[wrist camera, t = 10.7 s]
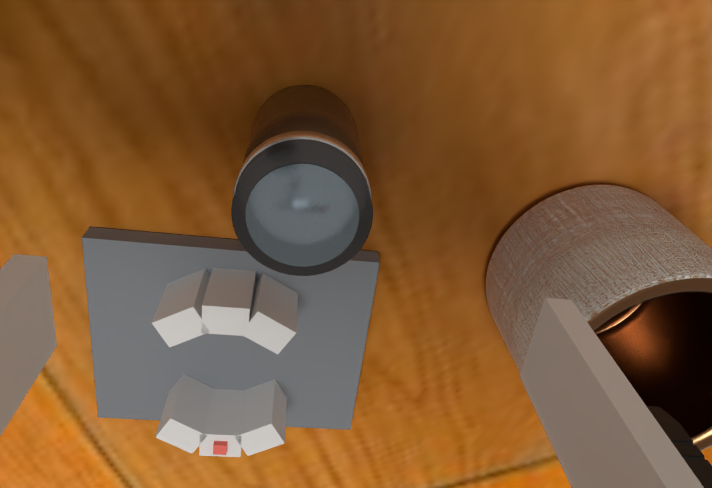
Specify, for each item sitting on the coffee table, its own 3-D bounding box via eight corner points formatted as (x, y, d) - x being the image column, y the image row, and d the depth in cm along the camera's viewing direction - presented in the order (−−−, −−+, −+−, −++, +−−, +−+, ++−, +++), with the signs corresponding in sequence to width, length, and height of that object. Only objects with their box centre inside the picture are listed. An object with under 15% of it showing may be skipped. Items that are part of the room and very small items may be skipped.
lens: (255, 77, 27) (232, 140, 19) (363, 90, 28) (385, 156, 20) (249, 179, 30) (227, 273, 22) (350, 189, 30) (363, 284, 22)
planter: (707, 261, 34) (837, 371, 26) (557, 373, 37) (628, 503, 29) (600, 137, 30) (712, 220, 22) (442, 275, 33) (487, 393, 25)
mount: (89, 226, 30) (52, 277, 26) (377, 251, 32) (387, 303, 28) (104, 402, 36) (75, 469, 32) (349, 415, 38) (354, 480, 33)
